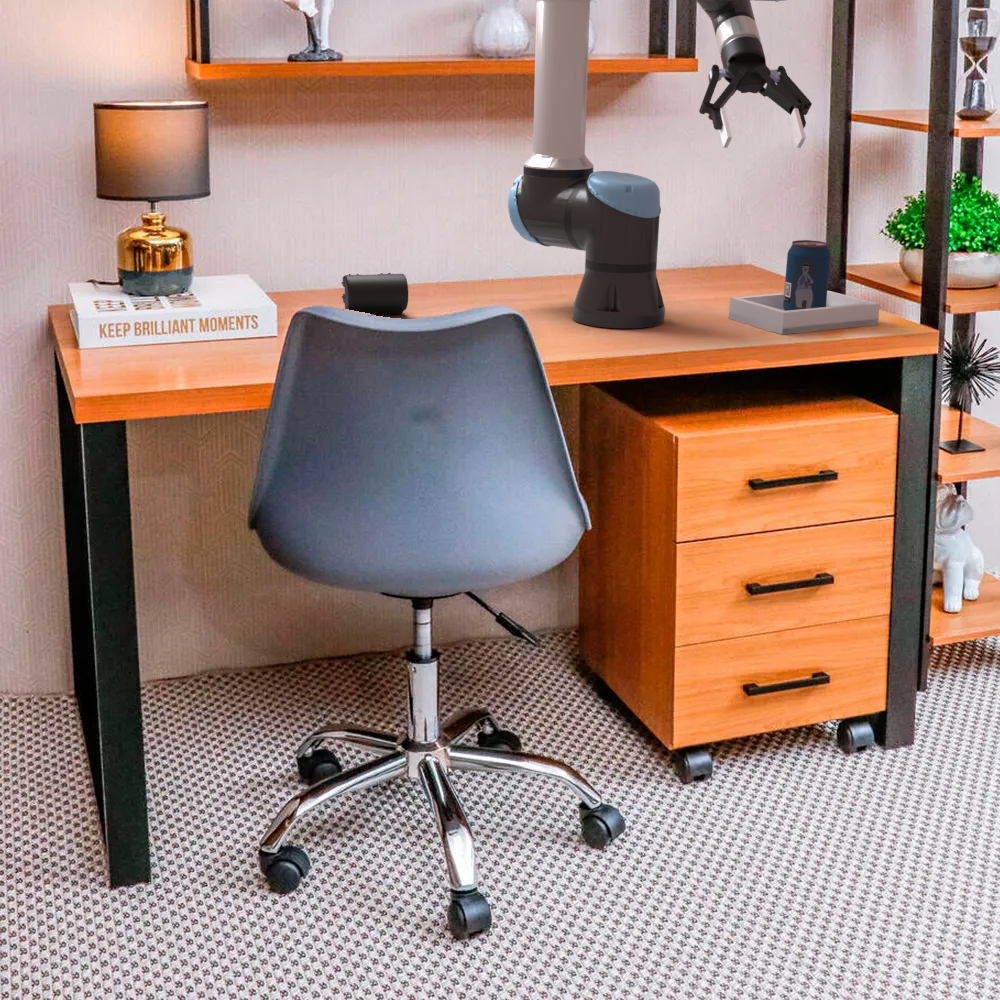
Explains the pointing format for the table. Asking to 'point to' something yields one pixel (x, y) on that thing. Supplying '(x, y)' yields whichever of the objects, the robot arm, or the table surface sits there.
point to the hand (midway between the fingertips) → (764, 142)
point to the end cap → (376, 293)
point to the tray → (803, 313)
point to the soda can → (806, 275)
